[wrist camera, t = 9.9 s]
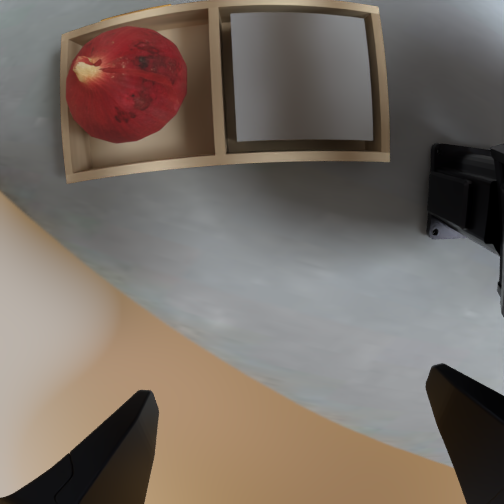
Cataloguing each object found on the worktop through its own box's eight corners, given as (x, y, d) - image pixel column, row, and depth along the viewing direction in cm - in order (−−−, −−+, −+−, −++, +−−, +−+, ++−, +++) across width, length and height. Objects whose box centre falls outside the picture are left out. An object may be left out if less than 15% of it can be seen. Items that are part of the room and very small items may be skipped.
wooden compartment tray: (360, 19, 15) (379, 1, 12) (369, 158, 18) (392, 162, 15) (84, 42, 15) (59, 30, 12) (89, 176, 18) (64, 184, 15)
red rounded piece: (197, 43, 15) (166, -17, 8) (198, 137, 17) (164, 134, 10) (104, 58, 15) (30, 23, 8) (105, 146, 17) (25, 157, 9)
